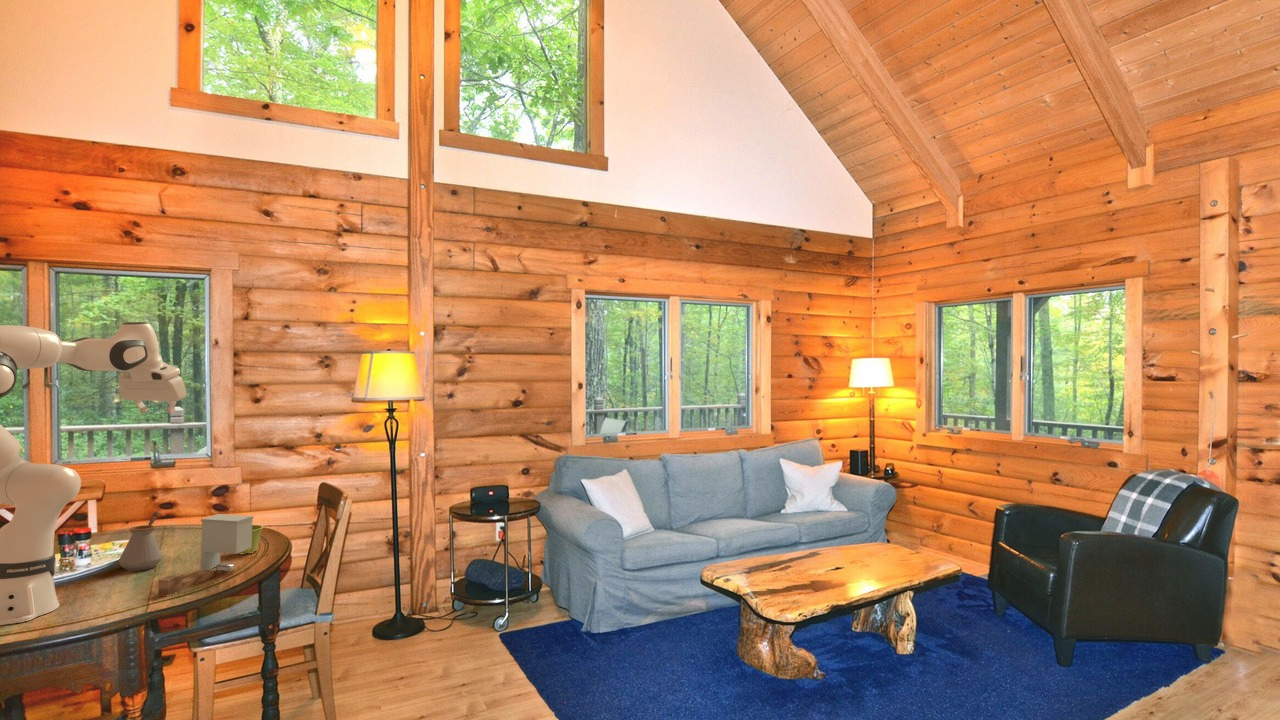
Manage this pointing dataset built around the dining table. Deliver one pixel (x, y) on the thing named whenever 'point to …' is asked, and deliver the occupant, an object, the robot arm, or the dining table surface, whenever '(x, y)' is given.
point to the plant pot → (254, 538)
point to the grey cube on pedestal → (224, 537)
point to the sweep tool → (181, 582)
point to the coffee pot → (141, 549)
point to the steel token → (224, 567)
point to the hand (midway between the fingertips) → (157, 412)
